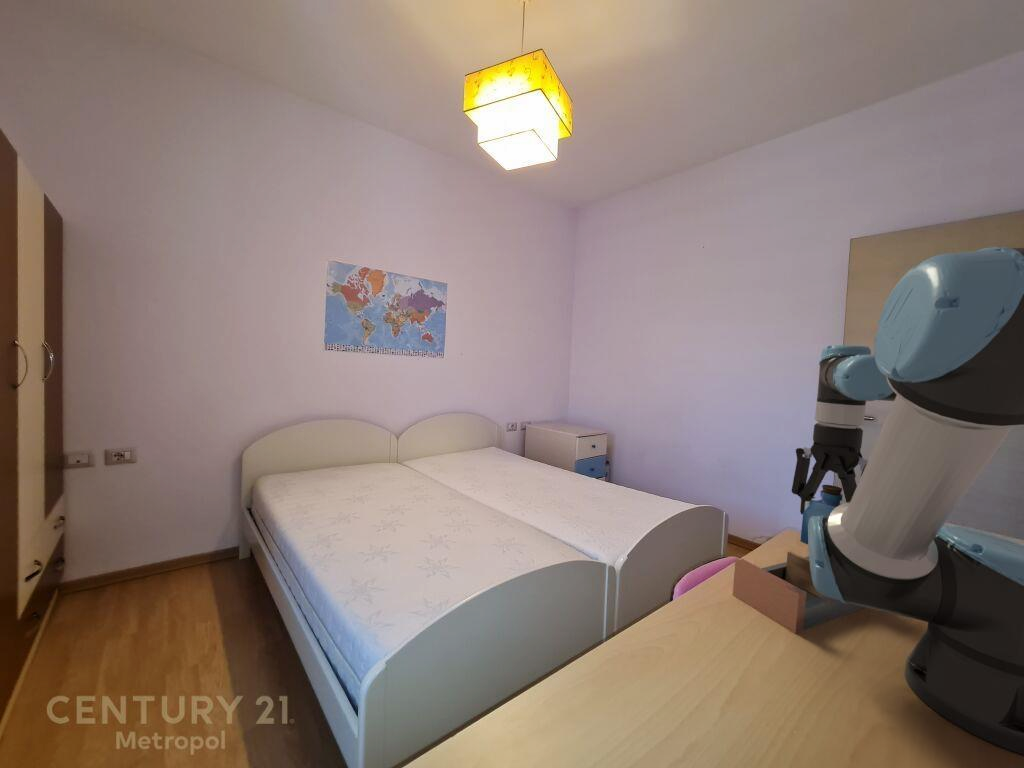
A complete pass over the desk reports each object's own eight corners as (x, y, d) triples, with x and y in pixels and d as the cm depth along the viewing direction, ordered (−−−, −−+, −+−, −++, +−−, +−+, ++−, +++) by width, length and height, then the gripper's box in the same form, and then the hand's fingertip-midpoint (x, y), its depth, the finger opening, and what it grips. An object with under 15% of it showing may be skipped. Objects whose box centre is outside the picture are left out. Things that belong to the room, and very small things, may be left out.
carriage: (870, 592, 81) (873, 563, 81) (833, 604, 76) (836, 573, 76) (820, 569, 89) (823, 543, 89) (785, 579, 85) (787, 551, 84)
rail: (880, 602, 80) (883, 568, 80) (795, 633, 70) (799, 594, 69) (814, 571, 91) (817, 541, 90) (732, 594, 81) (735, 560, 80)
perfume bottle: (800, 541, 83) (805, 483, 82) (818, 537, 86) (823, 481, 85) (834, 555, 78) (841, 494, 77) (852, 550, 80) (859, 490, 79)
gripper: (911, 433, 73) (897, 558, 74) (799, 416, 90) (789, 518, 92) (888, 435, 70) (874, 565, 71) (776, 417, 87) (767, 522, 89)
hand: (826, 538), depth 82 cm, fingers closed on perfume bottle, 6 cm apart
